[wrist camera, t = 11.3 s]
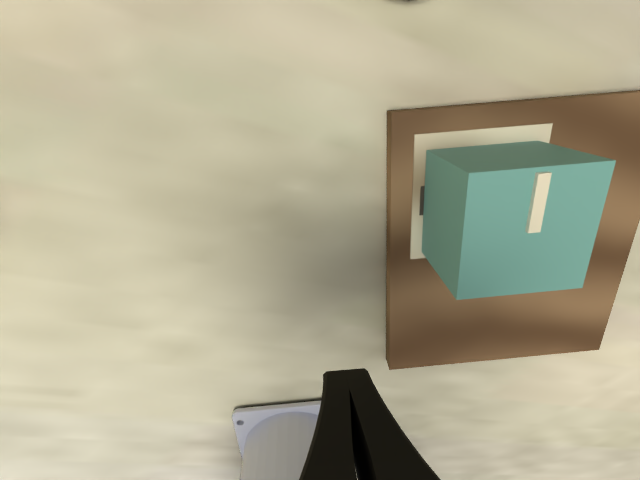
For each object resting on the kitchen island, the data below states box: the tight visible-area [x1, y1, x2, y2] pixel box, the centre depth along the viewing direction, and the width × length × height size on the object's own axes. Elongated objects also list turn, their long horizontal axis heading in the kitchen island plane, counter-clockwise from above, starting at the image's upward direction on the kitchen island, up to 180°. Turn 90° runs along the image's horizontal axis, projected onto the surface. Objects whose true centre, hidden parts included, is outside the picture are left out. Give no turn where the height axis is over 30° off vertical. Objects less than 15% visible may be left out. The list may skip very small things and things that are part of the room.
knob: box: [422, 141, 616, 300], centre depth 17 cm, size 6×6×5 cm
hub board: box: [386, 90, 640, 370], centre depth 19 cm, size 16×14×4 cm
